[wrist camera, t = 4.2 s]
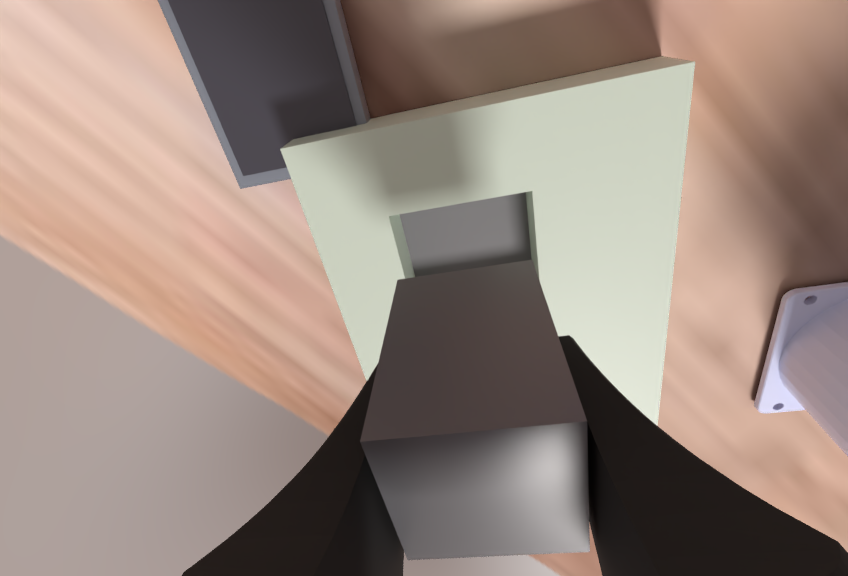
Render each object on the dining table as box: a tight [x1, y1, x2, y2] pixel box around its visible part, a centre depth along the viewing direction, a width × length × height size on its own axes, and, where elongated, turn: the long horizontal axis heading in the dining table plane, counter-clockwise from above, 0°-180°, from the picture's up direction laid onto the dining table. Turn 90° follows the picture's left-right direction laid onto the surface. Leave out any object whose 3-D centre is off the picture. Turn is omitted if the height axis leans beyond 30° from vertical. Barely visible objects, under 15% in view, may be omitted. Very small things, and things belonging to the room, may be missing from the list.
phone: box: [158, 0, 371, 189], centre depth 15 cm, size 6×11×1 cm, turn 12°
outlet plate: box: [280, 56, 695, 426], centre depth 20 cm, size 14×18×3 cm
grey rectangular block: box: [360, 260, 590, 560], centre depth 11 cm, size 4×4×6 cm
